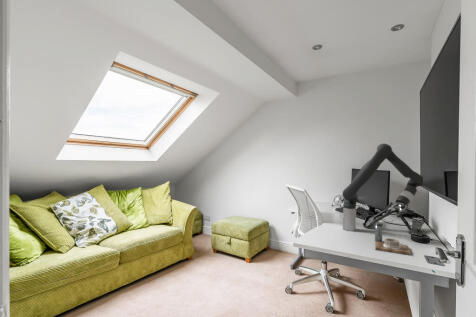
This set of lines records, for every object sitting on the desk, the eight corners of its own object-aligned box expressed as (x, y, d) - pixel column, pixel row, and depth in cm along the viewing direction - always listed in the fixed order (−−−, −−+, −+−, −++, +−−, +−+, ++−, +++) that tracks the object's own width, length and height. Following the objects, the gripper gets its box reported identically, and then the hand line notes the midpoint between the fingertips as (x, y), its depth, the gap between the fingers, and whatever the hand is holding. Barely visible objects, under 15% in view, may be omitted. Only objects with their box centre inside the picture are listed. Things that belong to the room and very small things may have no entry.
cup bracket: (375, 249, 152) (375, 241, 152) (375, 243, 165) (375, 235, 165) (410, 255, 144) (410, 245, 144) (407, 248, 156) (407, 239, 156)
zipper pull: (424, 221, 198) (422, 227, 179) (424, 229, 198) (422, 237, 179) (411, 219, 204) (407, 225, 185) (411, 227, 204) (407, 234, 185)
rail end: (374, 241, 168) (374, 224, 168) (374, 239, 172) (374, 222, 172) (382, 242, 166) (382, 224, 166) (382, 240, 170) (382, 223, 170)
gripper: (392, 193, 182) (380, 210, 178) (411, 196, 168) (398, 214, 165) (398, 200, 183) (386, 217, 180) (417, 203, 169) (404, 221, 166)
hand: (392, 215), depth 172 cm, fingers open, 8 cm apart
